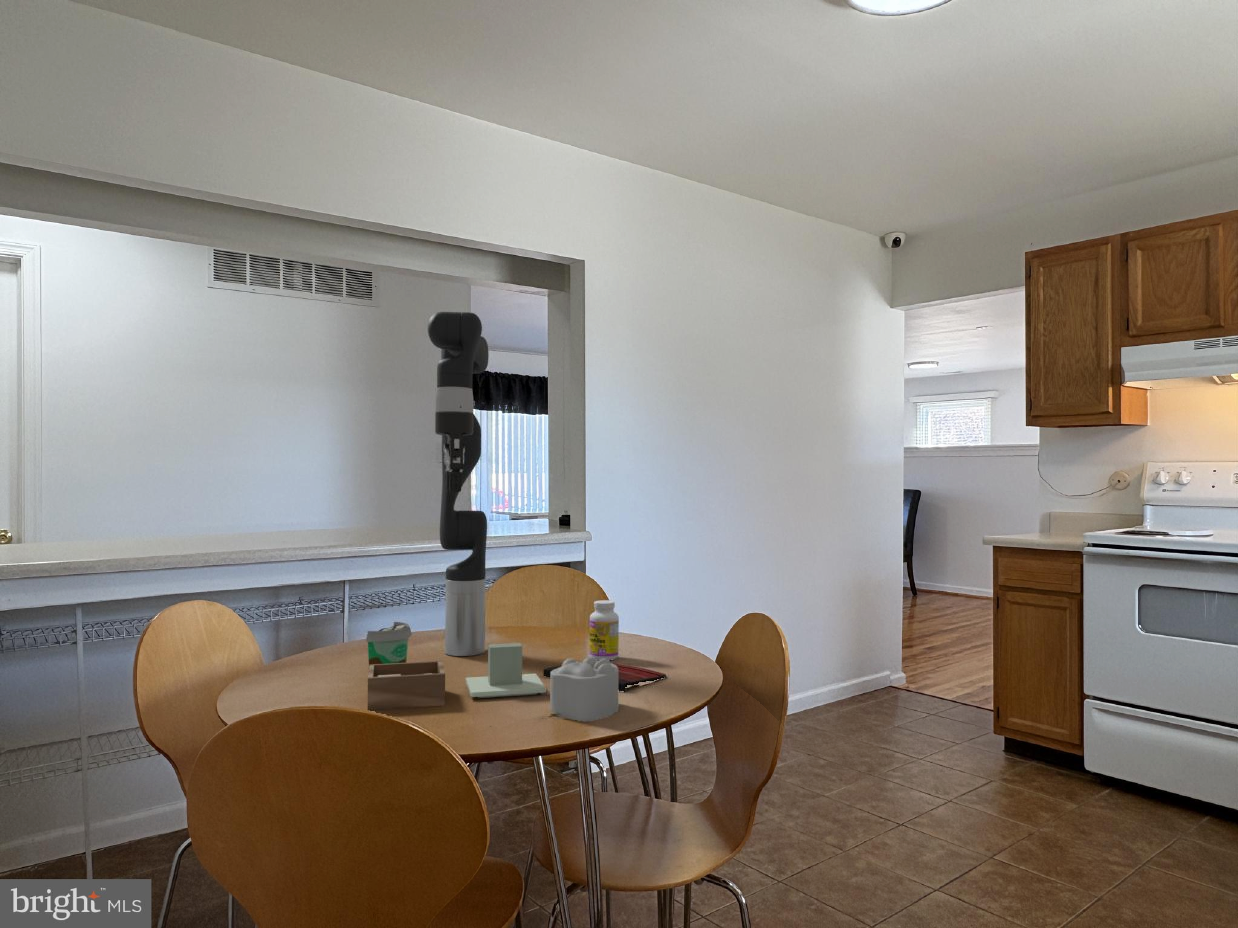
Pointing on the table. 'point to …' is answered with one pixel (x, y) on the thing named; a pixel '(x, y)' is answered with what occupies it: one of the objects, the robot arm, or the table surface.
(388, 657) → the food container
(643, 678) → the binder
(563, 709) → the grey lumpy filled container
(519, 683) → the lid
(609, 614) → the supplement bottle
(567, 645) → the table surface
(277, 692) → the table surface
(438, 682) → the box
